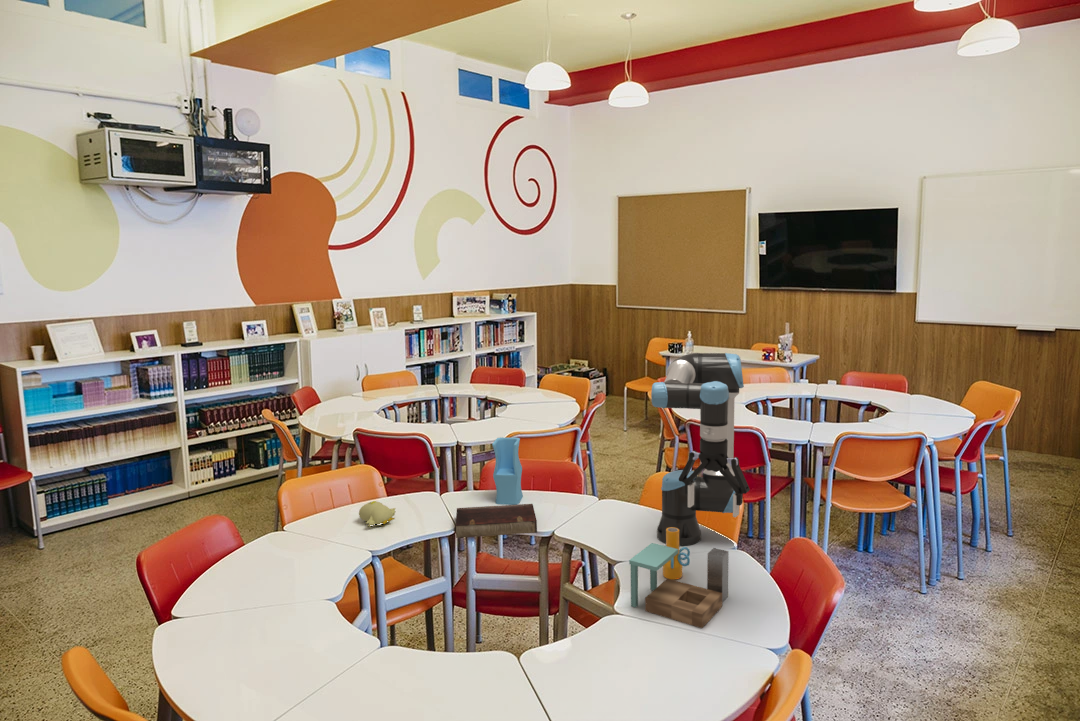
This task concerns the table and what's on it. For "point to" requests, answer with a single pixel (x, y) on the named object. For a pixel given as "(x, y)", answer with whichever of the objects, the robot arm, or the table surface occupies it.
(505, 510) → the hardback book
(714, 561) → the peg
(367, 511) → the toy
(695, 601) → the socket block
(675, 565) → the cylinder
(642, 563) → the teal miniature table
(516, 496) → the blue high-backed chair
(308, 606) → the table surface
